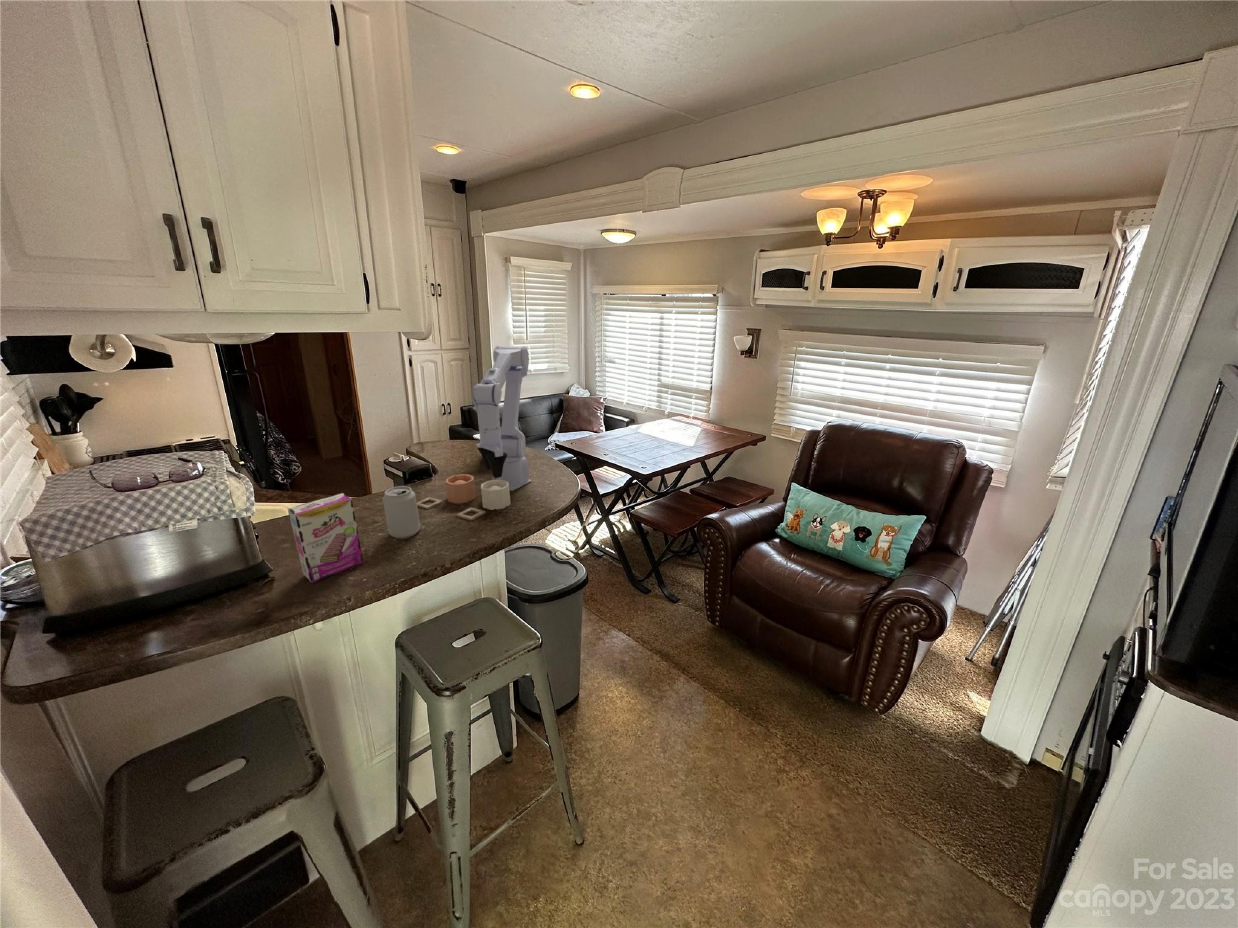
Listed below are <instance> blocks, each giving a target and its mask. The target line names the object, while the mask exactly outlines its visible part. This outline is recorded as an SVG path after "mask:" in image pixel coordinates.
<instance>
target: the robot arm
mask: <svg viewBox="0 0 1238 928" xmlns="http://www.w3.org/2000/svg"><path fill="white" fill-rule="evenodd" d="M492 353H493V354H492V357H493V358H492V359H493V362H494V364H493V366H492V368H489V369H488V370H487V371H486V372H485V374H484V376H483V378H482V380H481V381H480V383H477V384H476V385H474V386H473V387H472V391H471V400H472V403H473V405H474V410H475V412H476V413H477V420H478V421H477V423H478V431H479V441H480V442H479V443H476V444H475V446H476V448H477V450H478V451H479V453H480V456H481V458H483V459H482V460H483V463H484V467H485V469H486V471H490V470H491V475H492V477H493V478H494V479H497V478H498V480H504V481H508V482H509V491H511V492H513V491H515V490H517V489H520V488H521V487H523V486H525V485H527V484H530V483H531V482H532V480H531V479H530V471H529V470H530V469H529V461H528V460H527V458H526V456H525V455H526V449H527V447H526V446H527V445H526V436H525V434H524V432H522V431H521V430H520V429H519V428H518V426H519V425H518V423H519V412H520V402H521V401H520V400H521V391H522V390H521V389H522V383H523V378H524V377H526V376H528V372H529V363H530V358H529V357H530V356H529V355H530V354H529V351H528V348H527V347H526V346H525V345H523V346H499V345H495V348H494V349H493V352H492ZM504 386H505V387H504ZM503 388H504V398H503V407H502V408H503V409H502V414H503V417H502V427H501V428H500V418H499V414H500V407H499V406H500V404H501V399H502V394H503V392H502V389H503Z"/></svg>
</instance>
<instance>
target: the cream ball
mask: <svg viewBox="0 0 1238 928" xmlns="http://www.w3.org/2000/svg"><path fill="white" fill-rule="evenodd" d="M489 489H490V490H492V489H501V487H499V486H492V487H491V488H489Z"/></svg>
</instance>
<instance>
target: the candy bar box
mask: <svg viewBox="0 0 1238 928" xmlns="http://www.w3.org/2000/svg"><path fill="white" fill-rule="evenodd" d="M287 512H288V516H289V521H290V525H291V529H292V532H293V536H294V540H295V545H296V549H297V554H298V558H299V562H300V565H301V566H300V567H301V569H302V574H303V576H304V577H305V578H306V579H307V580H308V581H309V582H310V583H311V584H313V583H317V582H319V581H320V580H322V579H326V578H328V577H331V576H334V575H336V574H339V573H341V572H343V571H345V570H348V569H351V568H353V567H356V566H358V565H360V564H364V557H363V551H362V547H361V540H360V536H359V531H358V525H357V519H356V516H355V515H356V514H355V509H354V504H353V499H352V497H349V496H347V494H345V493H343V492H341V493H338V494H335V495H331V496H328V497H327V496H326V497H324V498H321V499H318V500H317V499H316V500H313V501H310V502H306V503H303V504H299V505H295V506H292V507H288V508H287Z"/></svg>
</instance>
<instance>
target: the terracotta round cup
mask: <svg viewBox="0 0 1238 928" xmlns="http://www.w3.org/2000/svg"><path fill="white" fill-rule="evenodd" d="M458 480H463V481H465V483H458V484H453V483H454V482H456V481H458ZM445 487H446V494H447V502H449V503H453V504H456V503H457V504H464V503H466V504H467V503H469V502H471V501H473V500H475V499H476V488H475V487H476V486H475V477H474V475H471V474H466V473H465V474H463V473H462V474H454V475H452V476H449V477H447V478H446V481H445Z"/></svg>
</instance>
